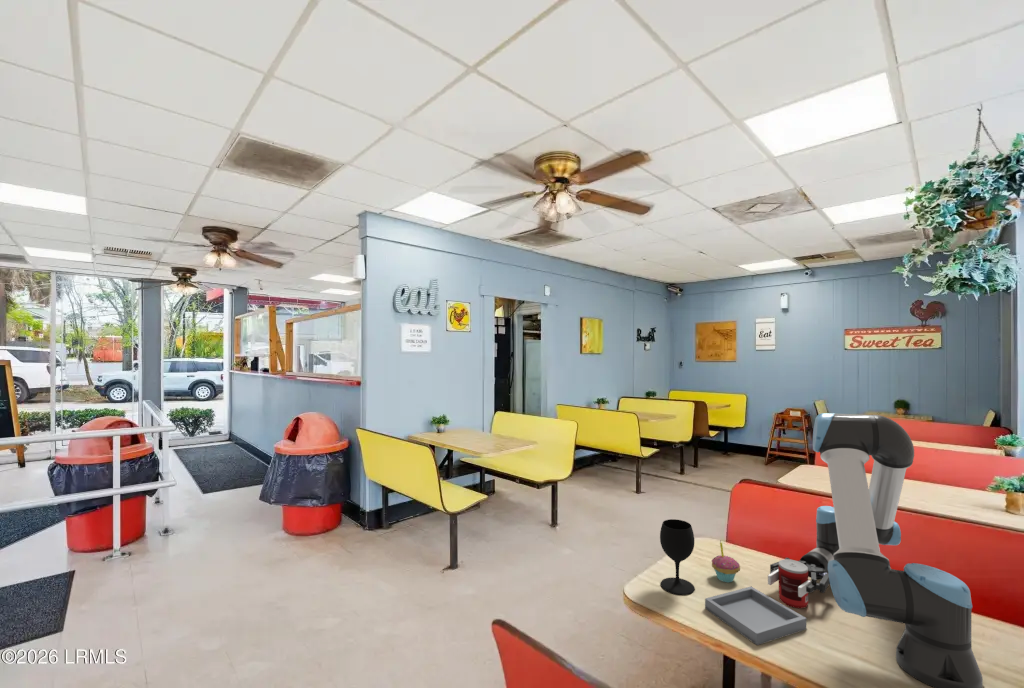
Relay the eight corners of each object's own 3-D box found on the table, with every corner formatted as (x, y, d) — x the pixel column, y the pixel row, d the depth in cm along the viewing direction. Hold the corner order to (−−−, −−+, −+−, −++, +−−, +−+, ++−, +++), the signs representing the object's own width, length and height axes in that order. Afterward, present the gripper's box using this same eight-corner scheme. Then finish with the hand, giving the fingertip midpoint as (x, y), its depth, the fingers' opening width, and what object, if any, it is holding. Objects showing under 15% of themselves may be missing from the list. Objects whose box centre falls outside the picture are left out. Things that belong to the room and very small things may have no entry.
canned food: (800, 594, 145) (799, 559, 145) (814, 609, 137) (813, 572, 137) (773, 594, 146) (773, 558, 146) (786, 608, 138) (786, 571, 138)
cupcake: (705, 575, 158) (705, 540, 158) (724, 570, 161) (723, 535, 161) (727, 587, 150) (727, 550, 150) (746, 581, 153) (745, 545, 153)
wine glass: (697, 583, 153) (696, 521, 153) (691, 598, 144) (691, 533, 144) (664, 575, 158) (663, 516, 158) (657, 590, 149) (656, 526, 149)
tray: (806, 629, 128) (806, 618, 128) (756, 645, 122) (756, 633, 122) (751, 596, 145) (751, 586, 145) (705, 608, 138) (705, 598, 138)
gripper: (855, 588, 143) (823, 615, 130) (783, 563, 160) (749, 584, 146) (855, 564, 143) (823, 587, 130) (783, 541, 160) (748, 560, 146)
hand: (784, 586), depth 138 cm, fingers closed on canned food, 8 cm apart
